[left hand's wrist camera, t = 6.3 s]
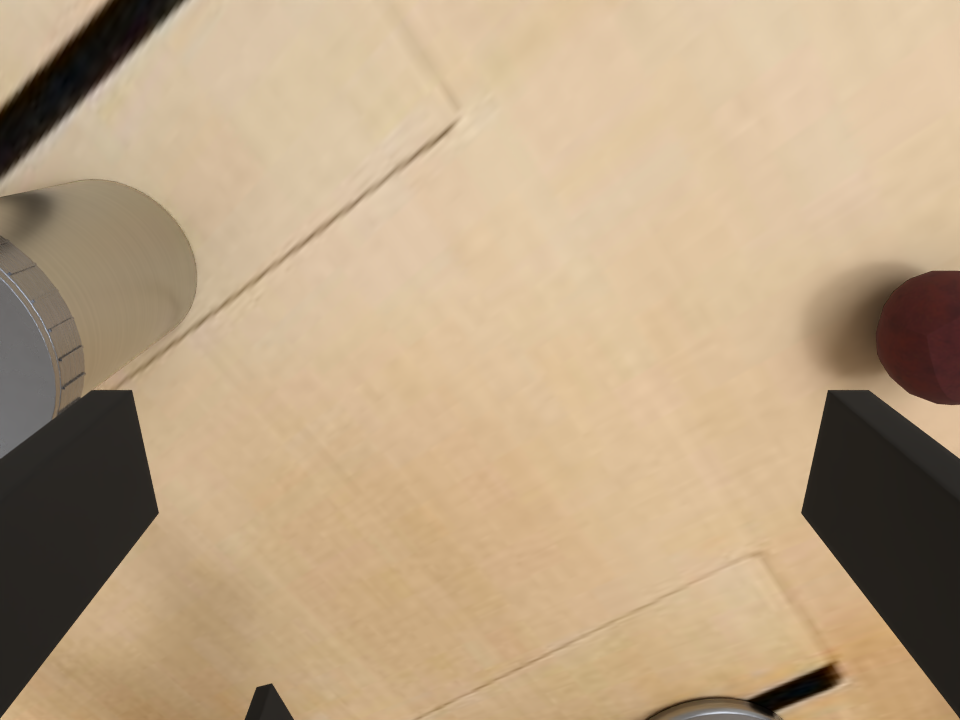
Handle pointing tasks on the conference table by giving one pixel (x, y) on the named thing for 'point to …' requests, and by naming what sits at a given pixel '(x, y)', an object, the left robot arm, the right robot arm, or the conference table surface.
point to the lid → (34, 349)
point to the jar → (106, 265)
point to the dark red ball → (923, 336)
